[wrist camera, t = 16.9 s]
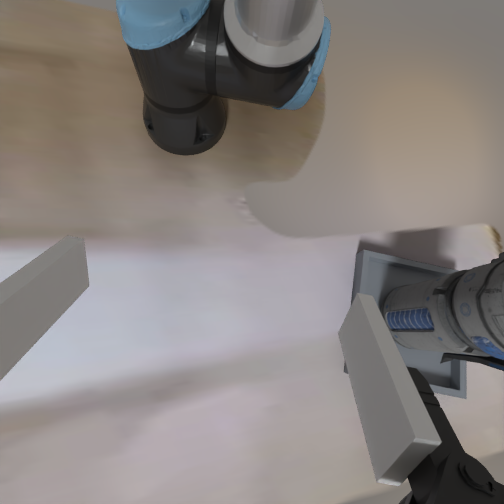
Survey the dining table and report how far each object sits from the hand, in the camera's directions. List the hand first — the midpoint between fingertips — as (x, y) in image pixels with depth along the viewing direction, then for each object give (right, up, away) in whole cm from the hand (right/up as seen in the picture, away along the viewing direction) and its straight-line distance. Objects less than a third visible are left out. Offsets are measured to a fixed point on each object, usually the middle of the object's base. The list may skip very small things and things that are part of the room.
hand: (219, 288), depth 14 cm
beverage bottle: (+27, -10, +34) cm, 45 cm away
